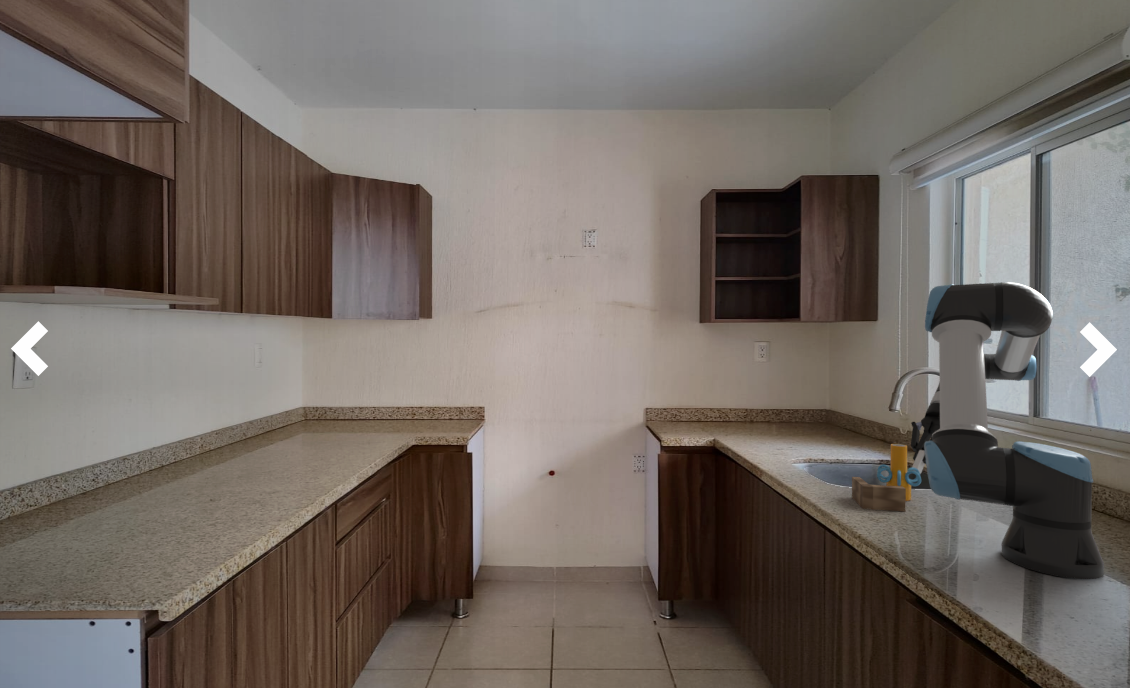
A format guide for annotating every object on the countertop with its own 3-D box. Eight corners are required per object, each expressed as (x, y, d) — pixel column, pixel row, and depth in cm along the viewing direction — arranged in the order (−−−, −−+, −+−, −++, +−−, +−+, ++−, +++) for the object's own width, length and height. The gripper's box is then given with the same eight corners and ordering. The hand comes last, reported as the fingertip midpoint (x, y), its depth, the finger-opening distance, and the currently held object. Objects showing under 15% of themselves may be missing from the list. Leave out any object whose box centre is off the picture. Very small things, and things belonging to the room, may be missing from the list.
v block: (854, 497, 151) (854, 476, 151) (908, 510, 139) (908, 487, 139) (837, 502, 147) (837, 480, 147) (891, 516, 135) (891, 492, 135)
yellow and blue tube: (877, 490, 158) (877, 439, 158) (919, 495, 153) (919, 443, 153) (876, 500, 148) (877, 446, 148) (921, 507, 143) (922, 451, 143)
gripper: (972, 419, 161) (945, 483, 152) (924, 414, 172) (897, 473, 163) (964, 403, 158) (936, 467, 149) (916, 399, 169) (888, 458, 160)
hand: (916, 470), depth 156 cm, fingers closed
